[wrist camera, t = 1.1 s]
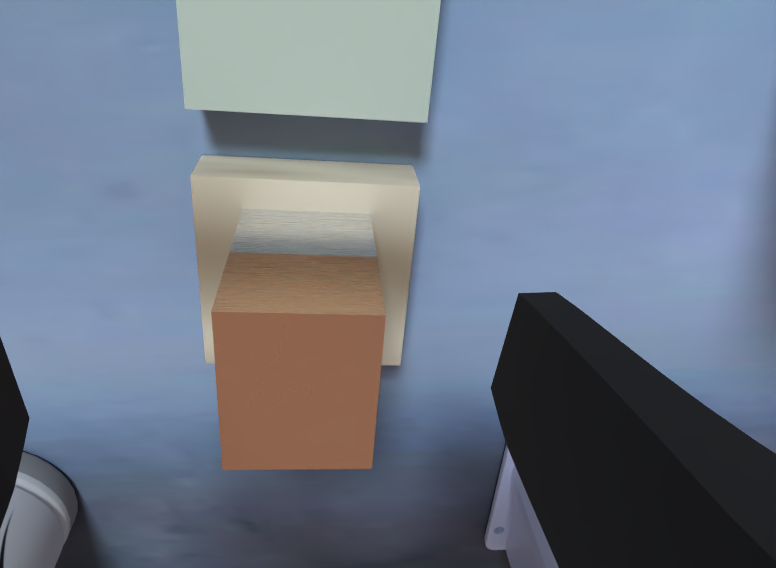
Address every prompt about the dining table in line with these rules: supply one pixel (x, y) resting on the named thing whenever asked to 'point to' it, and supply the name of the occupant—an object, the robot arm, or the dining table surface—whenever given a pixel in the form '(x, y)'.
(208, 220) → the stand
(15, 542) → the travel mug
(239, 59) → the stand
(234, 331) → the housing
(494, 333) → the dining table surface
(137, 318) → the dining table surface
